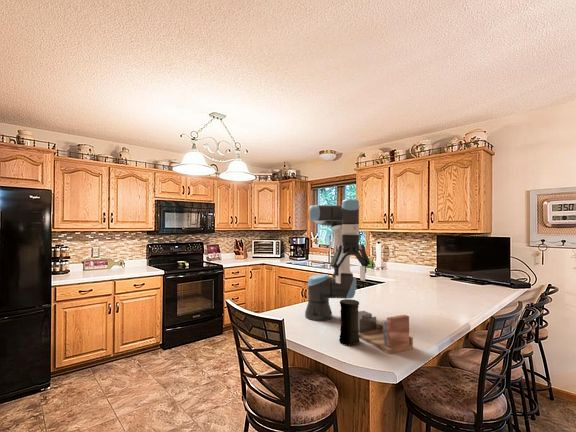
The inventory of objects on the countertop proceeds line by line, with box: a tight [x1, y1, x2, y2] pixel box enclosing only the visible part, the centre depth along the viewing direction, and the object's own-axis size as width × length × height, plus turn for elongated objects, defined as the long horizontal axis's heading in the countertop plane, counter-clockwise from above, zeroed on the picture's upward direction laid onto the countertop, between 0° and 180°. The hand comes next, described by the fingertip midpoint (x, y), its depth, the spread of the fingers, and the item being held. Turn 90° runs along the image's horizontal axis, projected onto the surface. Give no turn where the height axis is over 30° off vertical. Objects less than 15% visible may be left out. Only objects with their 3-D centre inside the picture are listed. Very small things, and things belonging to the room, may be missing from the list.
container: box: [338, 298, 361, 347], centre depth 137 cm, size 9×9×18 cm
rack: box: [359, 314, 414, 355], centre depth 138 cm, size 23×13×14 cm, turn 26°
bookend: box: [358, 310, 377, 333], centre depth 149 cm, size 7×10×8 cm
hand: (350, 281), depth 137 cm, fingers open, 13 cm apart
